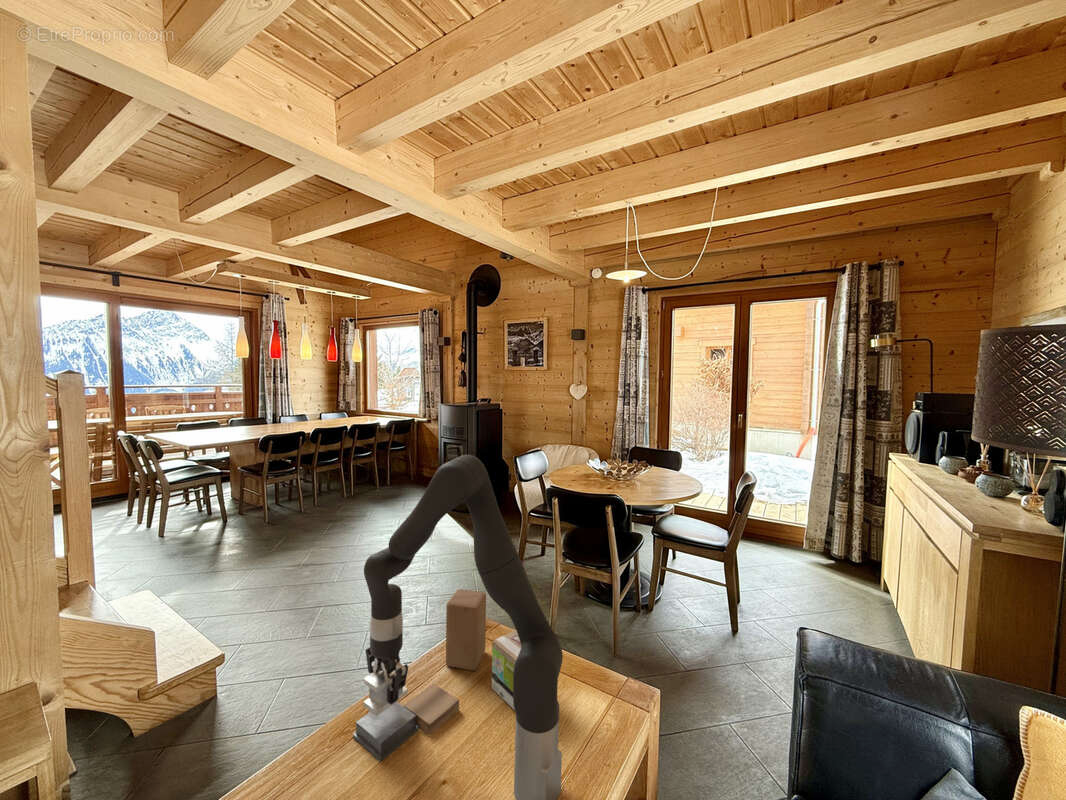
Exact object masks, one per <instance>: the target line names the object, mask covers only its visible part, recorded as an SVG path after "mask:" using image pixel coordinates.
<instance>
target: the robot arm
mask: <svg viewBox="0 0 1066 800" xmlns="http://www.w3.org/2000/svg"><path fill="white" fill-rule="evenodd" d="M463 503H465V504H466V507H467V509H468V512H469V514H470V518H471V522H472V528H473V554H474V555H473V556H474V562H475V566H476V570H477V572H478V574H479V577H480V579H481V582H482V584H483V586H484V588H485V590H486V592H487V594H488V596H489V597H490V598H491V599H492V600H493V602H494V603H496V604H497V605H498V606H499V607H500V608H501V609H502V610H503V611H504V612H505V613H506V614H507V616H508V617H509V618H510V619H511V621H512V623H513V626H514V628H515V629H516V631H517V633H518V636H519V639H520V643H521V650H520V653H519V655H518V657H517V659H516V662H515V665H514V672H513V704H514V709H515V710H514V709H513V710H514V711H515V728H514V730H515V733H514V734H515V737H514V769H513V771H514V773H513V774H514V776H513V777H514V778H513V779H514V781H513V784H514V785H513V795H514V798H515V800H558V798H559V796H561V793H562V765H563V764H562V761H563V759H562V758H563V752H562V750H560V749H559V733H560V732H559V731H560V730H559V729H560V703H559V701H558V681H559V676H560V672H561V668H562V664H563V660H564V659H563V657H564V654H563V650H562V646H561V643H560V641H559V639H558V638H557V636H556V634H555V632H554V630H553V628H552V626H551V625H550V623H549V621H548V620H547V617H546V615H545V614H544V612H543V610H542V608H541V606H540V603H539V601H538V599H537V596H536V593H535V591H534V589H533V586H532V584H531V582H530V580H529V577H528V574H527V572H526V569H525V566H524V564H523V562H522V560H521V558H520V555H519V552H518V550H517V548H516V546H515V544H514V542H513V540H512V537H511V534H510V532H509V530H508V527H507V525H506V522H505V520H504V517H503V515H502V512H501V511H500V508H499V507H500V506H499V505H498V501H497V498H496V495H495V493H494V489H493V485H492V482H491V480H490V476H489V473H488V470H487V468H486V466H485V465H484V463H483V462H482V461H481V459H479V458H478V457H477V456H475V455H473V454H463V455H460V456H458V457H455V458H454V459H453V458H452V459H451V460H449V461H446V462H445V463H443V464H442V465H441V466H440V467H438V468H437V470H436V471H435V473H434V474H433V477H432V478H431V480H430V481H429V484H428V485H427V487H426V489H425V491H424V493H423V494H422V496H421V498H420V500H419V501H418V502H417V504H416V505H415V507H414V509H412V511H411V513H409V515H408V516H407V517H406V518H405V519H404V521H403V522H402V523H401V524H400V525H399V526H398V528H397V529H396V530H395V531H394V533H393V534H392V535H391V537H390V539H389V541H388V547H386V548H384V549H382V550H380V551H377V552H375V553H373V554H371V555H370V556H368V558H367V559H366V560H365V564H364V565H363V576H364V579H365V581H366V586H367V589H368V593H369V595H370V600H371V606H370V608H371V610H370V611H371V612H370V622H369V647H367V648H366V649H365V657H366V664H367V672H368V673H369V674H372V673H373V672H375V673H376V672H378V671H379V670H380V671H383V672H384V676H385V680H386V681H388V686H389V704H391V705H392V704H393V703H395V702H396V701H397V700H398V695H399V689H401V688H402V687H406V683H407V678H408V677H407V676H408V672H409V666H408V664H406V663H405V664H404V666H403V665H402V664H401V663H402V662H401V658H400V652H401V650H402V647H403V645H404V644H403V643H404V641H403V640H404V638H403V637H404V636H403V635H404V633H403V631H404V630H403V629H404V625H403V624H404V620H403V612H402V610H403V609H402V608H403V604H402V602H403V600H402V599H403V594H402V588H401V587H400V586H399V585H397V584H394V583H389V581H390V580H391V579H392V580H393V579H394V578H395V577H397V576H399V575H401V574H403V573H404V572H405V571H406V570H407V569H408V568H409V566H410V565H411V563H412V562H413V560H414V559H415V556H416V554H417V553H418V552H419V551H420V550H421V549H422V548H423V547H424V545H426V543H427V542H428V541H429V539H430V538H431V536H432V535H433V532H434V530H435V529H436V526H437V525H438V523H439V522H440V521H441V520H442V519H443V518H444V516H446V515H447V514H448V513H450V512H451V511H453V509H455V508H457V506H459V505H461V504H463ZM400 662H401V663H400ZM373 663H374V664H373ZM372 664H373V665H372ZM394 670H395V671H394ZM393 671H394V673H392V672H393ZM390 673H392V674H391V675H389V674H390ZM394 678H395V682H394V683H393V682H392V680H393V679H394ZM398 701H399V700H398ZM398 701H397V702H398Z"/></svg>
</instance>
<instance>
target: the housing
mask: <svg viewBox="0 0 1066 800" xmlns="http://www.w3.org/2000/svg"><path fill="white" fill-rule="evenodd" d="M400 663H401V664H402V665H403V666H404V665H405V664H404V663H403V662H402V661H400ZM394 671H395V670H394ZM394 671H393V672H392V673H394ZM392 673H390V674H389V675H391V674H392ZM392 682H393V683H394V682H395V678H394V679H393V680H392ZM363 684H364V685H365V686H367V687H368V688H369V693H368V695H369V698H367V699H366V700H364V701H363V707H364V708H365V709H366V710H368V711H369V712H372V713H373V714H374V715H375V716H378V715H379V714H380V713H382V712H383V711H384V710H386V709H387V708H389V707H390V706H391V704H389V686H388V681H386V680H385V676H384V672H383V671H380V670H379V671H378V672H376V673H375V672H373V673H369V674H368V675H367V676H366V677H363ZM408 694H409V689H408V688H407V687H406V686H404V687H402V688H401V689H399V695H398V700H397V701H396V702H398V701H399V700H401V699H402V698H404V697H405V696H406V695H408ZM393 704H394V703H393ZM393 704H392V705H393Z"/></svg>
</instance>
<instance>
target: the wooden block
mask: <svg viewBox="0 0 1066 800" xmlns="http://www.w3.org/2000/svg"><path fill="white" fill-rule="evenodd" d="M446 603H447V604H446V607H445V608H446V611H445V612H446V614H445V617H446V618H445V625H446V626H445V633H446V634H445V642H446V643H445V664H446V666H448V667H452V668H458V669H463V670H469V671H476V670H477V668H478V667H479V664H480V662H481V659H482V658H483V656H484V654H485V652H486V627H487V625H486V624H487V623H486V622H487V621H486V620H487V618H486V617H487V594H486V592H484V591H478V590H470V589H469V590H468V589H465V588H463V589H462V588H459V589H457V590H456V591H455V592H454V594H453V595H452V596H451V598H450V599H449V600H448V601H447V602H446Z"/></svg>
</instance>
